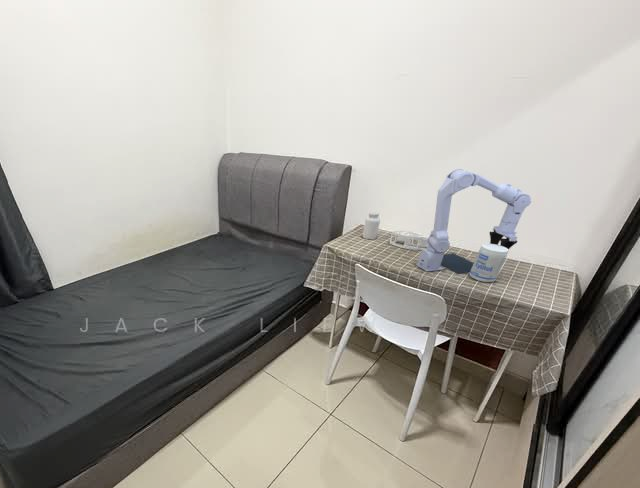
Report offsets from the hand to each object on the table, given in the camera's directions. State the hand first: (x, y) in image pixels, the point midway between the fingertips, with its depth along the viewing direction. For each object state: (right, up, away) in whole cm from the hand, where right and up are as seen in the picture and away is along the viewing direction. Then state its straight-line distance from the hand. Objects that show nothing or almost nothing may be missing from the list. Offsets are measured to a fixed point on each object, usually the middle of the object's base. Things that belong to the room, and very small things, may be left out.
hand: (496, 250), depth 135 cm
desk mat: (-9, -5, +13) cm, 17 cm away
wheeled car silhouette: (-20, +6, +33) cm, 40 cm away
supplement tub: (-7, -12, -1) cm, 14 cm away
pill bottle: (-37, +13, +47) cm, 61 cm away
